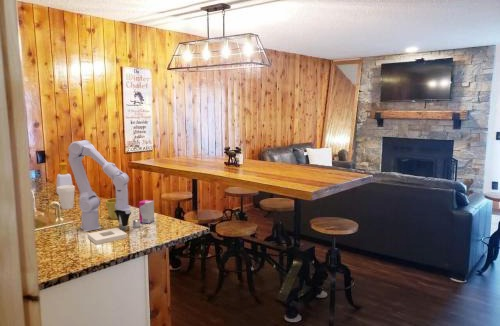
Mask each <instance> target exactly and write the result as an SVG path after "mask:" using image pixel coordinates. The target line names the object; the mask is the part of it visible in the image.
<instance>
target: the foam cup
mask: <svg viewBox="0 0 500 326" xmlns="http://www.w3.org/2000/svg"><path fill="white" fill-rule="evenodd" d="M75 190H76V186H75V185H64V186H59V187H57V186H56V191H57V192H58V194H57V195H58V200H59V203H60V207H61V209H62V210H70V209H71V210H72V209H73V208H74V202H75Z"/></svg>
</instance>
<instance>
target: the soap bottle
mask: <svg viewBox="0 0 500 326" xmlns="http://www.w3.org/2000/svg"><path fill="white" fill-rule="evenodd" d="M58 165H59V166H60V168H61V169H60V170H59V173H58V174H57V175H56V188H57V187H59V186H64V185H73V180H72V179H73V178H72V175H71V173H68V169H66V167H67V165H68V163H67V162H64V161H63V162H59V164H58ZM55 191H56V194H57V195H58V192H57V190H55Z"/></svg>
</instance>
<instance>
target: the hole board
mask: <svg viewBox="0 0 500 326" xmlns="http://www.w3.org/2000/svg"><path fill="white" fill-rule="evenodd" d="M87 238H88V240H90V241H91V242H93V243H94V244H95V245H101V244H107V243H111V242H115V241H121V240H125V239H128V233H127V232H125V231H122V230H120V228H118V227H114V228H108V229H104V230H99V231H93V232H88V233H87Z"/></svg>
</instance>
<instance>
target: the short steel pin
mask: <svg viewBox="0 0 500 326" xmlns="http://www.w3.org/2000/svg"><path fill="white" fill-rule="evenodd" d="M132 228H133V229H140V228H141V223H140V218H138V219H137V218H136V219H132Z"/></svg>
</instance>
